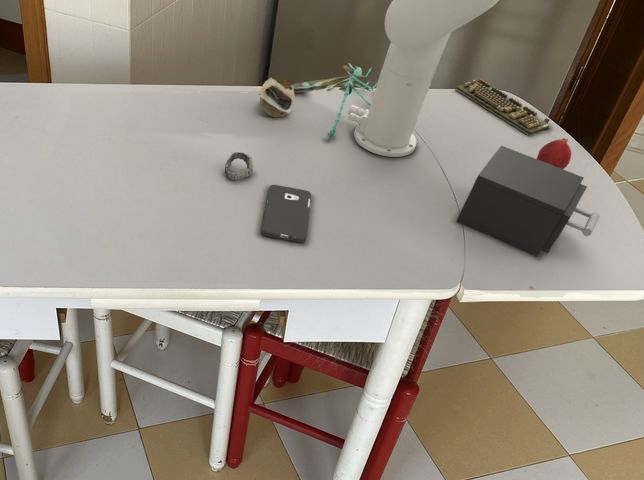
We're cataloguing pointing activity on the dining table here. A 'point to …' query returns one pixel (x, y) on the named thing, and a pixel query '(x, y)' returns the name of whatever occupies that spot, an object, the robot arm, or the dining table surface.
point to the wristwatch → (243, 173)
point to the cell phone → (286, 213)
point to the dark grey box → (519, 200)
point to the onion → (556, 153)
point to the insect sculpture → (331, 82)
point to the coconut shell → (277, 97)
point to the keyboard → (503, 106)
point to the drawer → (565, 221)
